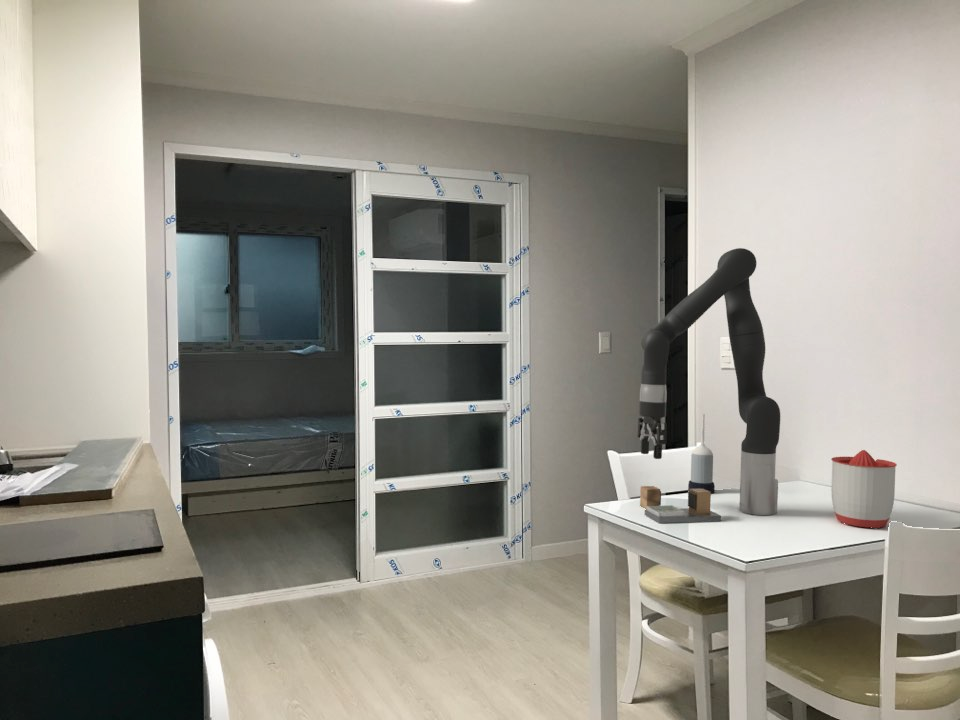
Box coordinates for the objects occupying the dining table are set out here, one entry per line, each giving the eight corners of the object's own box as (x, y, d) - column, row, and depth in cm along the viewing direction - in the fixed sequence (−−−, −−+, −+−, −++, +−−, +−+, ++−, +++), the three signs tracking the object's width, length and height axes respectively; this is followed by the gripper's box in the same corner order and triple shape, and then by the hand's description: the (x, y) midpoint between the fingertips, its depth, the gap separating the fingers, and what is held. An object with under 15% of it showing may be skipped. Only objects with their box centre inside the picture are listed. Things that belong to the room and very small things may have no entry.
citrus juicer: (896, 520, 199) (898, 448, 198) (893, 534, 184) (895, 456, 184) (833, 512, 207) (835, 443, 207) (825, 525, 193) (828, 450, 192)
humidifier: (711, 489, 237) (713, 413, 236) (717, 494, 229) (719, 415, 228) (685, 488, 238) (687, 412, 237) (690, 493, 229) (693, 415, 229)
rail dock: (704, 513, 203) (705, 486, 203) (721, 521, 195) (721, 493, 194) (644, 515, 200) (645, 488, 200) (658, 523, 191) (659, 495, 191)
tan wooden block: (654, 506, 211) (655, 485, 211) (661, 510, 206) (661, 489, 206) (640, 506, 210) (640, 486, 210) (646, 510, 206) (647, 489, 205)
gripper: (676, 402, 201) (674, 460, 201) (654, 398, 215) (652, 452, 215) (651, 402, 199) (649, 460, 200) (630, 397, 213) (628, 452, 214)
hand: (650, 456), depth 208 cm, fingers open, 8 cm apart
